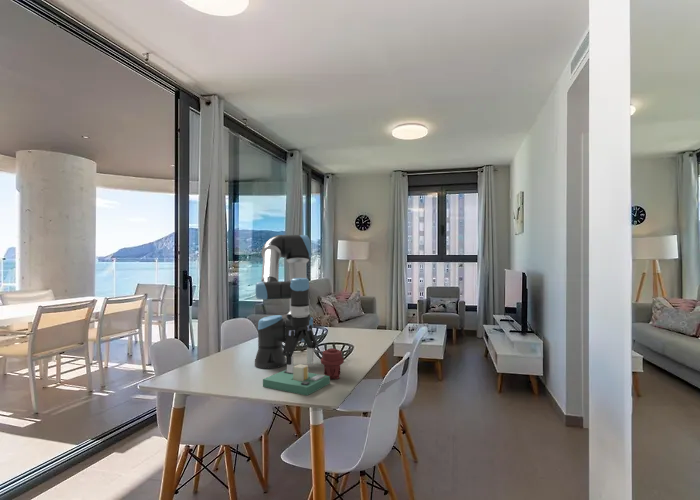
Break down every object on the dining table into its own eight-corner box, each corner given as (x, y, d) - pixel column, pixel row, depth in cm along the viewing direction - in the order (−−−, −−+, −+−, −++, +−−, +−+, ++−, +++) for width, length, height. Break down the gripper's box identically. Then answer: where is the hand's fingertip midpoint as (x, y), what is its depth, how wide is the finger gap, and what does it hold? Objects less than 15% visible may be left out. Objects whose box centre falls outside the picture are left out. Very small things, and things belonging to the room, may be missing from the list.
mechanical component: (320, 381, 167) (320, 374, 177) (344, 381, 168) (343, 373, 178) (320, 352, 167) (320, 346, 177) (344, 351, 168) (342, 346, 178)
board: (262, 386, 161) (262, 377, 161) (287, 375, 175) (287, 367, 175) (307, 395, 151) (307, 386, 151) (329, 383, 165) (329, 374, 165)
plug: (293, 386, 161) (293, 366, 161) (299, 383, 165) (299, 364, 165) (303, 388, 159) (302, 368, 159) (309, 385, 163) (309, 365, 163)
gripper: (288, 321, 150) (288, 377, 150) (324, 312, 171) (324, 361, 172) (272, 320, 153) (273, 374, 153) (310, 310, 175) (310, 358, 175)
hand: (300, 367), depth 163 cm, fingers open, 13 cm apart
